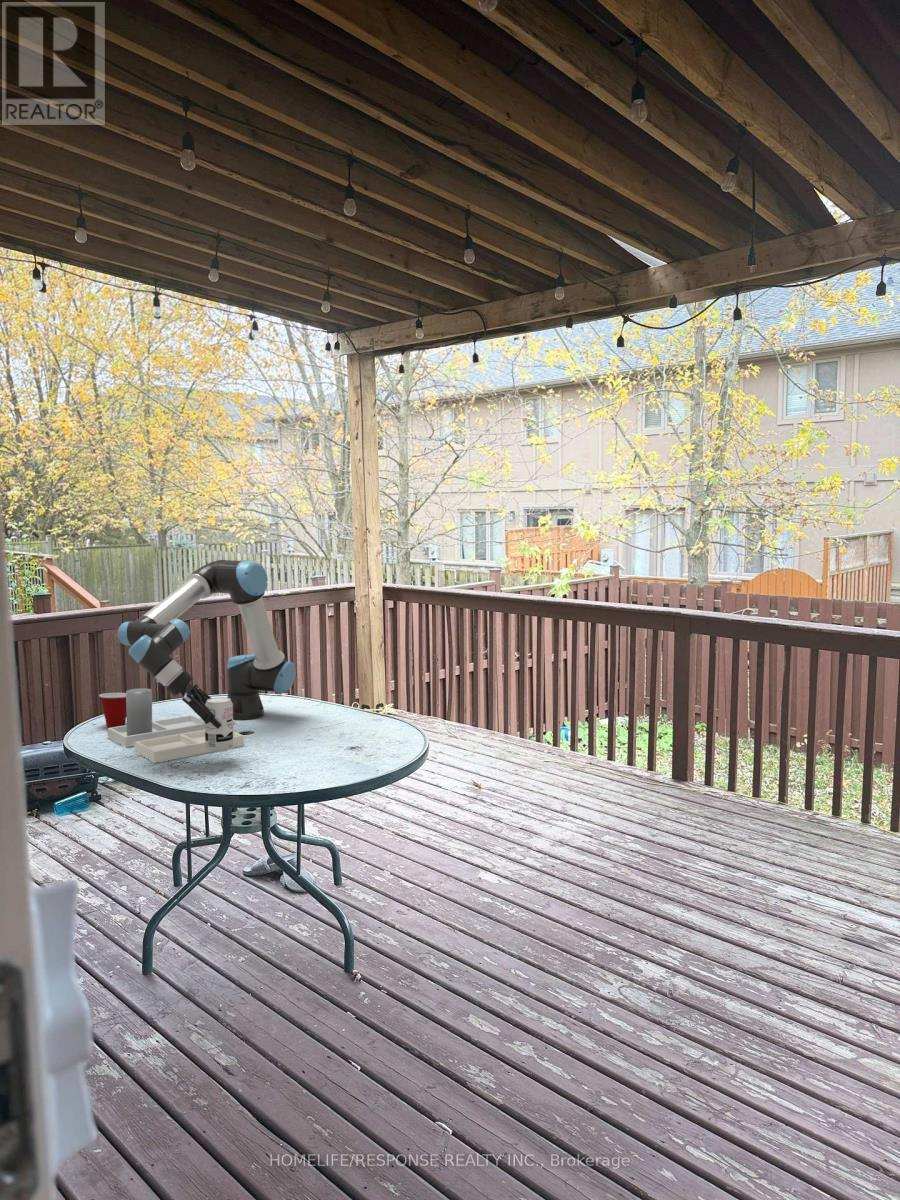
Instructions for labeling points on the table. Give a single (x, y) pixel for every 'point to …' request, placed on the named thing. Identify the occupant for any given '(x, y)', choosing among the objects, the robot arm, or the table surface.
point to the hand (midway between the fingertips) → (230, 729)
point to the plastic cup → (114, 709)
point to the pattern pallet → (158, 729)
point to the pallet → (178, 746)
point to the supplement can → (225, 713)
